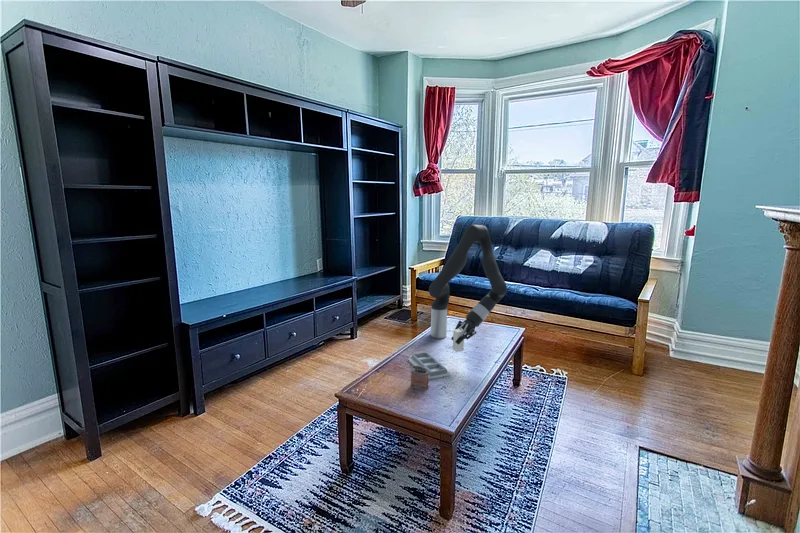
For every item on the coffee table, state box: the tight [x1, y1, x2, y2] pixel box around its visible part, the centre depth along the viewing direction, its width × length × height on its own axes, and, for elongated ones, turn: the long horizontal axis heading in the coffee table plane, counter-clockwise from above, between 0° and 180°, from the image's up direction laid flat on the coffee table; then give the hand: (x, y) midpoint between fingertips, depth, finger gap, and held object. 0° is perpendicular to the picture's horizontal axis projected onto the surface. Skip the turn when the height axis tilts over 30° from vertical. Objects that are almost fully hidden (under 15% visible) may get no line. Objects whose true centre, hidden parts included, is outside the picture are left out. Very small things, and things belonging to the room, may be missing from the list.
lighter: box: [410, 365, 430, 391], centre depth 169 cm, size 8×3×10 cm, turn 71°
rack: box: [408, 351, 451, 380], centre depth 189 cm, size 22×12×3 cm, turn 22°
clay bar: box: [452, 328, 465, 353], centre depth 188 cm, size 4×4×10 cm
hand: (454, 341), depth 188 cm, fingers closed on clay bar, 3 cm apart
